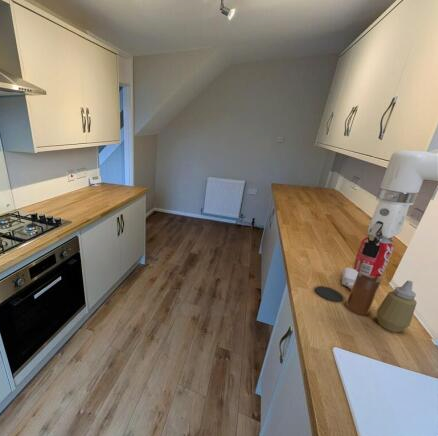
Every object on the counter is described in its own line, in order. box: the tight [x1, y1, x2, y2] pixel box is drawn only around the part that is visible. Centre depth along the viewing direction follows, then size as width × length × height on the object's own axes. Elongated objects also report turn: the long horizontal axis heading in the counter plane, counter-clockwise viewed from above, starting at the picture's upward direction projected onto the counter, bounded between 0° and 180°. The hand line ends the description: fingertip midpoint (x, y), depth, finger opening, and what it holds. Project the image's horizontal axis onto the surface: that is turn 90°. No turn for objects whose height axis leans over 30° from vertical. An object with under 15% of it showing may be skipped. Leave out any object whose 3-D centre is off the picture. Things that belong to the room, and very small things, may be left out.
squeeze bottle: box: [376, 279, 417, 333], centre depth 78 cm, size 8×8×18 cm
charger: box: [341, 267, 358, 291], centre depth 100 cm, size 5×9×15 cm
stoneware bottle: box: [345, 273, 383, 316], centre depth 85 cm, size 6×6×19 cm
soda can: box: [353, 234, 394, 278], centre depth 72 cm, size 7×7×12 cm
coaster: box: [315, 286, 344, 303], centre depth 96 cm, size 9×9×1 cm
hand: (374, 252), depth 72 cm, fingers closed on soda can, 7 cm apart
